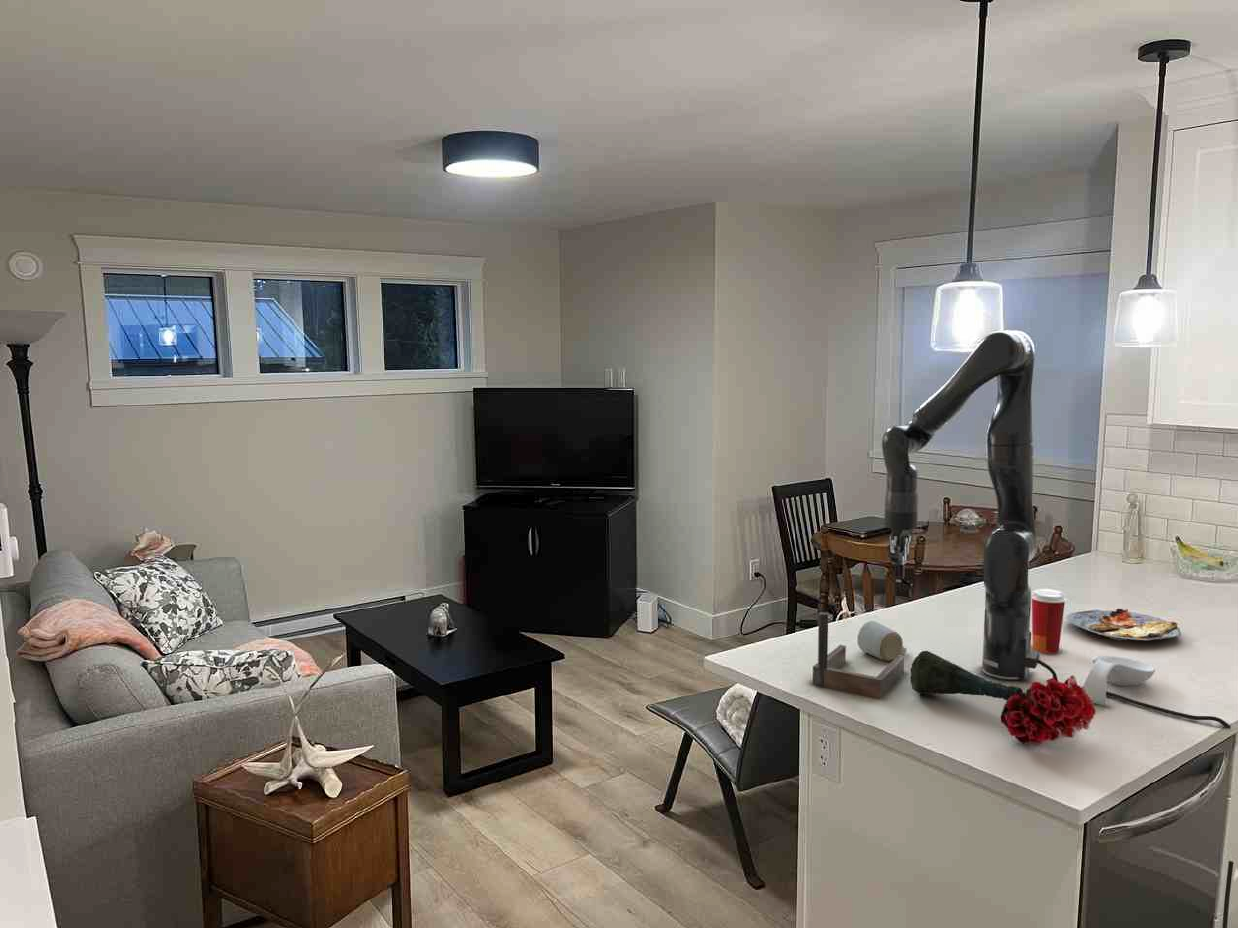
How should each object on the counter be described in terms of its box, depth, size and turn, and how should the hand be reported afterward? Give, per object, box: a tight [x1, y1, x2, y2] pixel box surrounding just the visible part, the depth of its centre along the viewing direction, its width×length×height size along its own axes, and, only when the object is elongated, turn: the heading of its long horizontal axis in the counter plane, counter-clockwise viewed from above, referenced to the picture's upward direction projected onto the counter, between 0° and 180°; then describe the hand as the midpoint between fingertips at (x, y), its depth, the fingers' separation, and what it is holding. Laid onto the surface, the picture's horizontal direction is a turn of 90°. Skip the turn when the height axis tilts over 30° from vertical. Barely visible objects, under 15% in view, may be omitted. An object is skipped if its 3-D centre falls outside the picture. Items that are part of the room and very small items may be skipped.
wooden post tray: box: [812, 611, 905, 699], centre depth 196 cm, size 15×17×16 cm
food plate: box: [1065, 608, 1182, 641], centre depth 226 cm, size 25×23×4 cm
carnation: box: [909, 650, 1097, 745], centre depth 174 cm, size 16×18×35 cm
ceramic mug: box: [856, 620, 907, 662], centre depth 211 cm, size 11×8×8 cm
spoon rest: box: [1083, 655, 1156, 706], centre depth 190 cm, size 24×12×7 cm, turn 135°
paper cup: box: [1031, 588, 1067, 655], centre depth 213 cm, size 8×8×14 cm
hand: (898, 578), depth 218 cm, fingers closed
